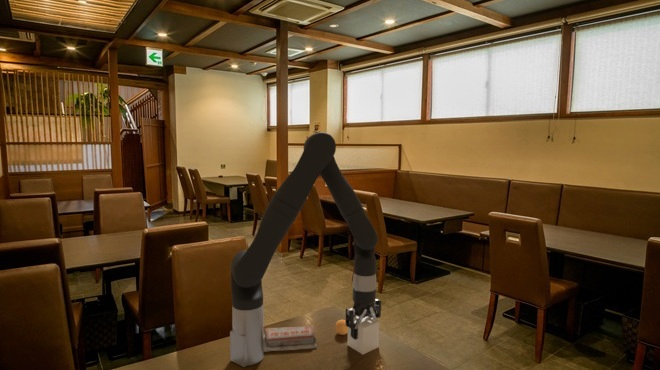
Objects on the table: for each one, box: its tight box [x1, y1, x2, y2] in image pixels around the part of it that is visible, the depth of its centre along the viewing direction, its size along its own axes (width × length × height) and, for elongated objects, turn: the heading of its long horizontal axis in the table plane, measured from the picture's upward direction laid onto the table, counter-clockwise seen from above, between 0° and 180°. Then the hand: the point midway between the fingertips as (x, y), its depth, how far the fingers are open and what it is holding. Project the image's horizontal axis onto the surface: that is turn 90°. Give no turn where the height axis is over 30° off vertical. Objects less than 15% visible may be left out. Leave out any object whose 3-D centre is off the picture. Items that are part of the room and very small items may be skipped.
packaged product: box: [263, 325, 317, 353], centre depth 131 cm, size 18×5×10 cm
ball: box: [334, 319, 348, 336], centre depth 137 cm, size 5×5×5 cm
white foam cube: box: [347, 315, 380, 355], centre depth 128 cm, size 7×7×9 cm
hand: (363, 334), depth 128 cm, fingers closed on white foam cube, 7 cm apart
